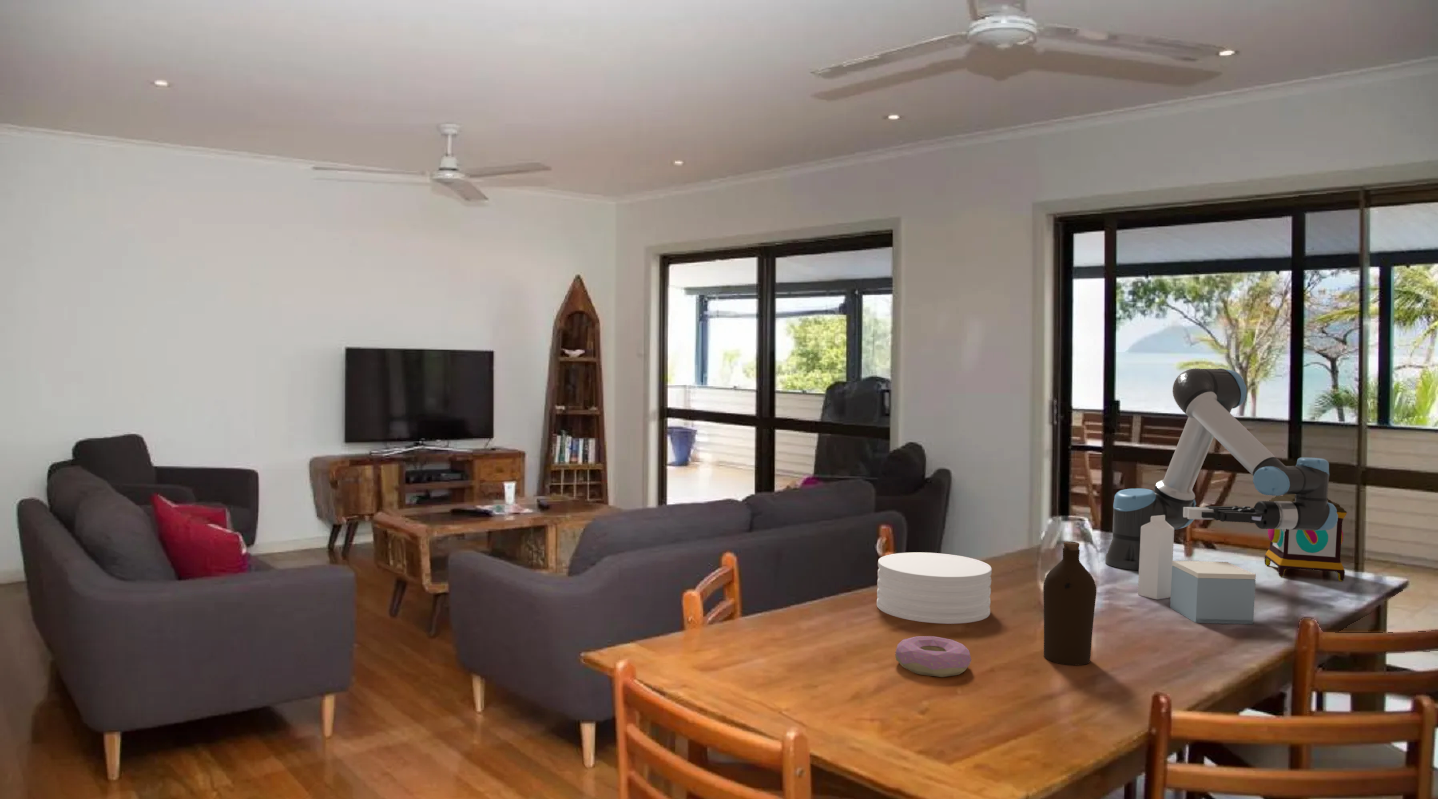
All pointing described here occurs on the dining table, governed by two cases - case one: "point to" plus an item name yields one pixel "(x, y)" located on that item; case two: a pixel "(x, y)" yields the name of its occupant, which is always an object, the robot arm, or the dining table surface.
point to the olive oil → (1069, 609)
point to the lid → (1213, 570)
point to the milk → (1156, 558)
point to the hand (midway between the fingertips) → (1186, 513)
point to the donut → (933, 656)
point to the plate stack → (934, 587)
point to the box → (1212, 598)
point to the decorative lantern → (1307, 546)
